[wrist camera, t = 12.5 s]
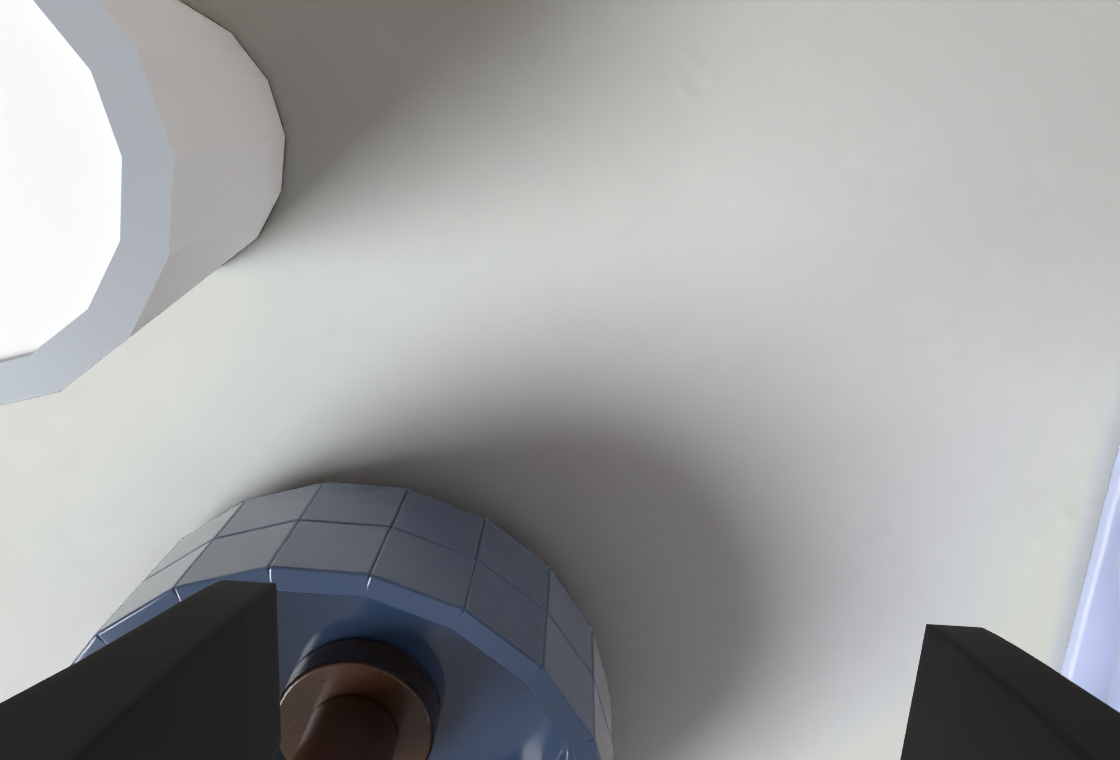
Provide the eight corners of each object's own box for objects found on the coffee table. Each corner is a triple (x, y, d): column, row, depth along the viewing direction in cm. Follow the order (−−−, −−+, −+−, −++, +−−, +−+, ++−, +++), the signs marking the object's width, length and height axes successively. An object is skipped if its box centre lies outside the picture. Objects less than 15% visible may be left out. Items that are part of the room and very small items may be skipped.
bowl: (588, 900, 24) (590, 1073, 20) (145, 868, 24) (51, 1034, 20) (628, 491, 21) (640, 593, 17) (116, 454, 21) (-4, 546, 17)
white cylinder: (14, 314, 20) (-270, 422, 13) (-59, -35, 18) (-434, -112, 11) (334, 303, 20) (208, 407, 13) (294, -52, 18) (123, -141, 11)
